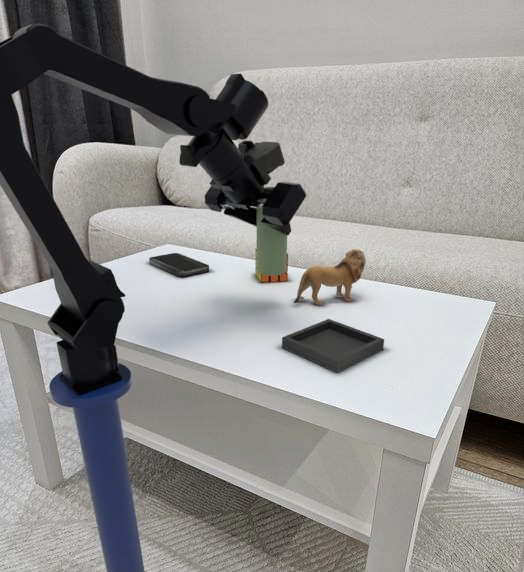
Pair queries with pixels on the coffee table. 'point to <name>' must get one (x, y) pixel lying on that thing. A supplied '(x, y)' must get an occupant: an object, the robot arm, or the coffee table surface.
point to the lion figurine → (333, 276)
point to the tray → (332, 344)
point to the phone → (179, 264)
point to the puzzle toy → (271, 278)
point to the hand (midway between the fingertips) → (277, 230)
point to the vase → (270, 248)
